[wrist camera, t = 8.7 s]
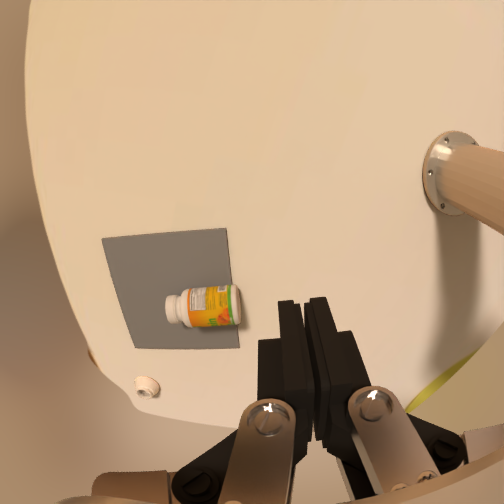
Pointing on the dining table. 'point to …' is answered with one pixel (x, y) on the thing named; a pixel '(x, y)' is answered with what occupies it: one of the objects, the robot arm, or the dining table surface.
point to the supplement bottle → (205, 306)
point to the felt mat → (168, 284)
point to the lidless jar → (146, 387)
